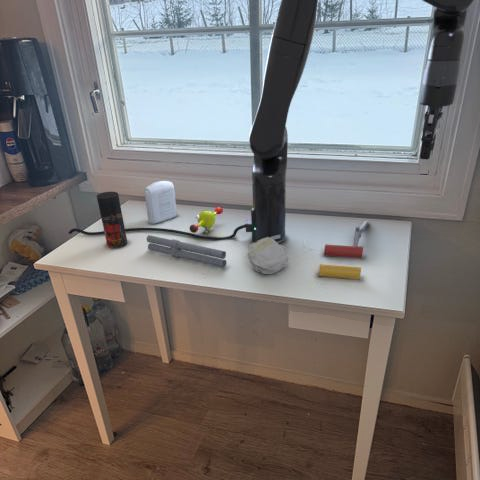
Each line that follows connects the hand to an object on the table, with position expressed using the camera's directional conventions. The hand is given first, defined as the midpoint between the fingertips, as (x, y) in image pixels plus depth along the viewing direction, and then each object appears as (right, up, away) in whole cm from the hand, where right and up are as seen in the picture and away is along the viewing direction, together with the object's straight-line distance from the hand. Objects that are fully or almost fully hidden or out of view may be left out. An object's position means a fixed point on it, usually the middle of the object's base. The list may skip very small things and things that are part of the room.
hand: (426, 154), depth 116 cm
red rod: (-18, -24, +10) cm, 32 cm away
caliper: (-11, -17, +21) cm, 29 cm away
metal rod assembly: (-61, -24, +13) cm, 67 cm away
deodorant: (-83, -19, +24) cm, 88 cm away
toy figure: (-56, -14, +28) cm, 65 cm away
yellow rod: (-21, -30, +1) cm, 37 cm away
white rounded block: (-72, -8, +39) cm, 82 cm away
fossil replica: (-39, -28, +6) cm, 48 cm away
